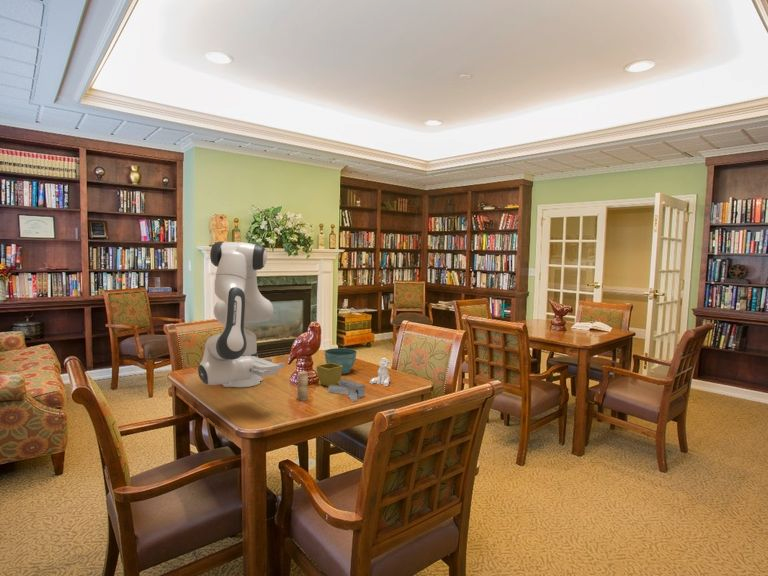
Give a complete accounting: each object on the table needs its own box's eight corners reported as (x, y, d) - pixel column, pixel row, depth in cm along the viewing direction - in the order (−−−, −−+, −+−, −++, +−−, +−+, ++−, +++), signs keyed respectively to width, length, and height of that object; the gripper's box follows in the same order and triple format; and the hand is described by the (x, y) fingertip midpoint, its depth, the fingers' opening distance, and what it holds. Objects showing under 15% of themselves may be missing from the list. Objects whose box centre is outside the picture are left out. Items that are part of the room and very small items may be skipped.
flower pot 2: (328, 388, 208) (328, 369, 207) (315, 384, 214) (315, 365, 213) (342, 385, 214) (343, 365, 214) (330, 381, 220) (330, 362, 220)
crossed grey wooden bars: (326, 391, 203) (327, 380, 203) (341, 388, 209) (342, 377, 209) (353, 401, 190) (353, 389, 190) (368, 398, 196) (368, 386, 196)
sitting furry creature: (368, 384, 217) (369, 358, 217) (377, 379, 225) (378, 355, 224) (386, 387, 213) (387, 361, 212) (395, 382, 221) (395, 357, 220)
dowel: (295, 398, 193) (296, 372, 192) (304, 397, 195) (304, 371, 195) (301, 401, 190) (301, 374, 189) (309, 399, 192) (309, 373, 192)
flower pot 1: (362, 372, 238) (363, 351, 237) (339, 378, 226) (339, 356, 225) (341, 366, 249) (341, 346, 248) (317, 372, 237) (318, 351, 236)
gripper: (257, 364, 166) (291, 359, 175) (231, 355, 181) (264, 350, 190) (257, 382, 166) (291, 376, 176) (231, 371, 181) (264, 366, 191)
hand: (277, 362), depth 183 cm, fingers open, 8 cm apart
